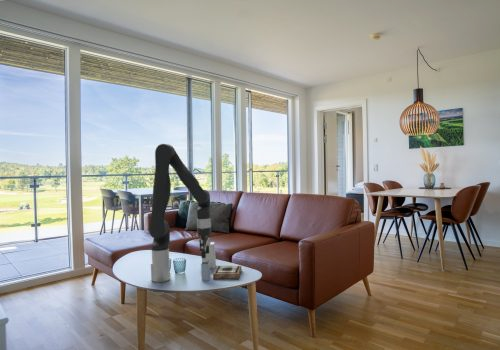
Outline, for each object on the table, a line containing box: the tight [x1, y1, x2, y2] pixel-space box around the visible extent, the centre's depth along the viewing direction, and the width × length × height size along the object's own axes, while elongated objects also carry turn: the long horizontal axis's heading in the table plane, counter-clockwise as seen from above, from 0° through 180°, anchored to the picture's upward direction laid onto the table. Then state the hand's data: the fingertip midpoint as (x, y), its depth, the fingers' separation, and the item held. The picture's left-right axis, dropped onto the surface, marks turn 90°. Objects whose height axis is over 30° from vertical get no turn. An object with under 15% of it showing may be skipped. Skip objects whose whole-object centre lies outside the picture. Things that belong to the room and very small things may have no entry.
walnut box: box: [212, 265, 242, 280], centre depth 187 cm, size 14×14×3 cm
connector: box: [200, 260, 211, 282], centre depth 181 cm, size 4×4×10 cm
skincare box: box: [201, 241, 217, 269], centre depth 202 cm, size 8×6×15 cm
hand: (205, 255), depth 181 cm, fingers open, 8 cm apart
